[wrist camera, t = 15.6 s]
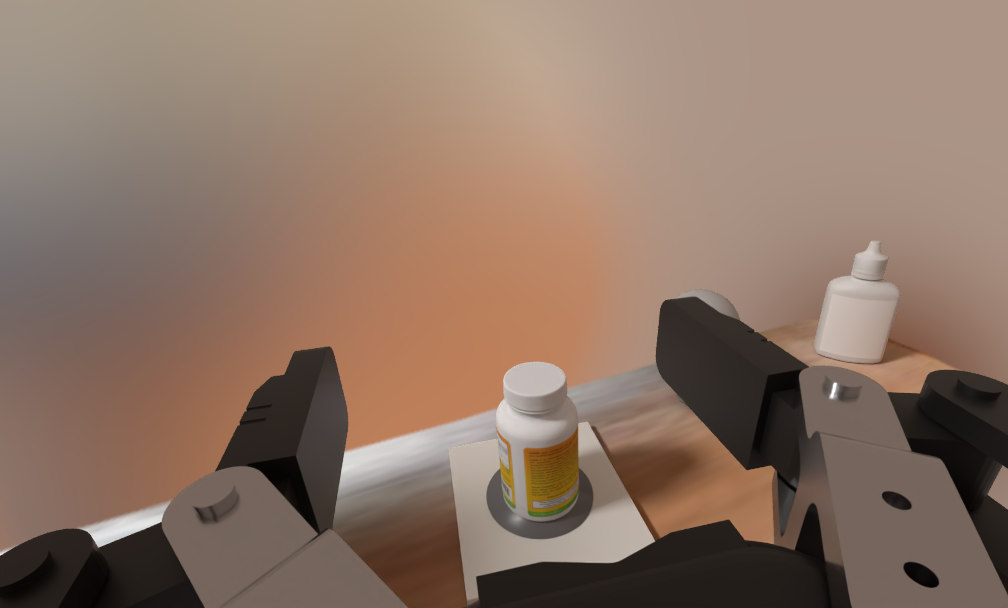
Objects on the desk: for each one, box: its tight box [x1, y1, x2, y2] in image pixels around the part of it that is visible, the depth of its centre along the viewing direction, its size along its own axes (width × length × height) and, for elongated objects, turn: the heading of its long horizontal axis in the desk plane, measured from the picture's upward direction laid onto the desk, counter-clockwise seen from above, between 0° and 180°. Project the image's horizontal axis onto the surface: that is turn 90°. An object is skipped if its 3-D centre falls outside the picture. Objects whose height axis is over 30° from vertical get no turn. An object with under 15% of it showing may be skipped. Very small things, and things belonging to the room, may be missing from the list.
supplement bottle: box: [496, 362, 579, 522], centre depth 31 cm, size 5×5×10 cm
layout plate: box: [449, 422, 655, 605], centre depth 33 cm, size 12×13×1 cm
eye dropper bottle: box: [814, 240, 901, 364], centre depth 45 cm, size 4×6×12 cm
